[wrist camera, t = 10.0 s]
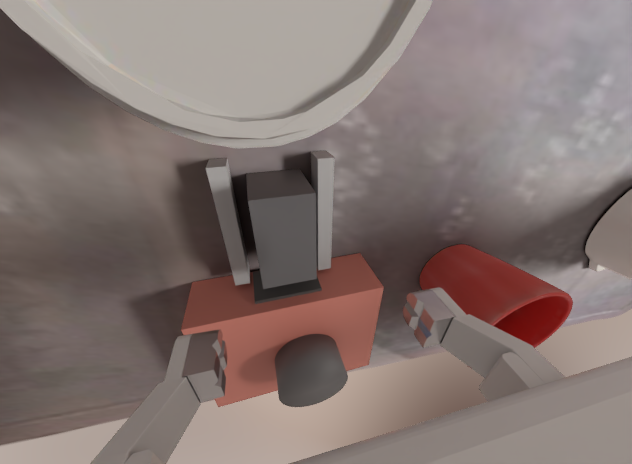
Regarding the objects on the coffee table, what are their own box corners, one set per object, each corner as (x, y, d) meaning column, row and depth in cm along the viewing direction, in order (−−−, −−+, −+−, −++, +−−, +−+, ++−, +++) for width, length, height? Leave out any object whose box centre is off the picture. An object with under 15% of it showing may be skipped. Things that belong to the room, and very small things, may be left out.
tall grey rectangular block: (299, 168, 19) (315, 193, 15) (302, 242, 22) (316, 278, 18) (246, 173, 18) (247, 200, 14) (259, 249, 22) (263, 289, 18)
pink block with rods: (372, 147, 19) (440, 181, 13) (351, 327, 31) (381, 393, 25) (147, 164, 16) (81, 223, 9) (221, 358, 28) (215, 444, 21)
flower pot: (397, 306, 31) (450, 382, 23) (423, 234, 26) (505, 302, 18) (462, 295, 34) (529, 360, 26) (499, 228, 29) (598, 286, 21)
